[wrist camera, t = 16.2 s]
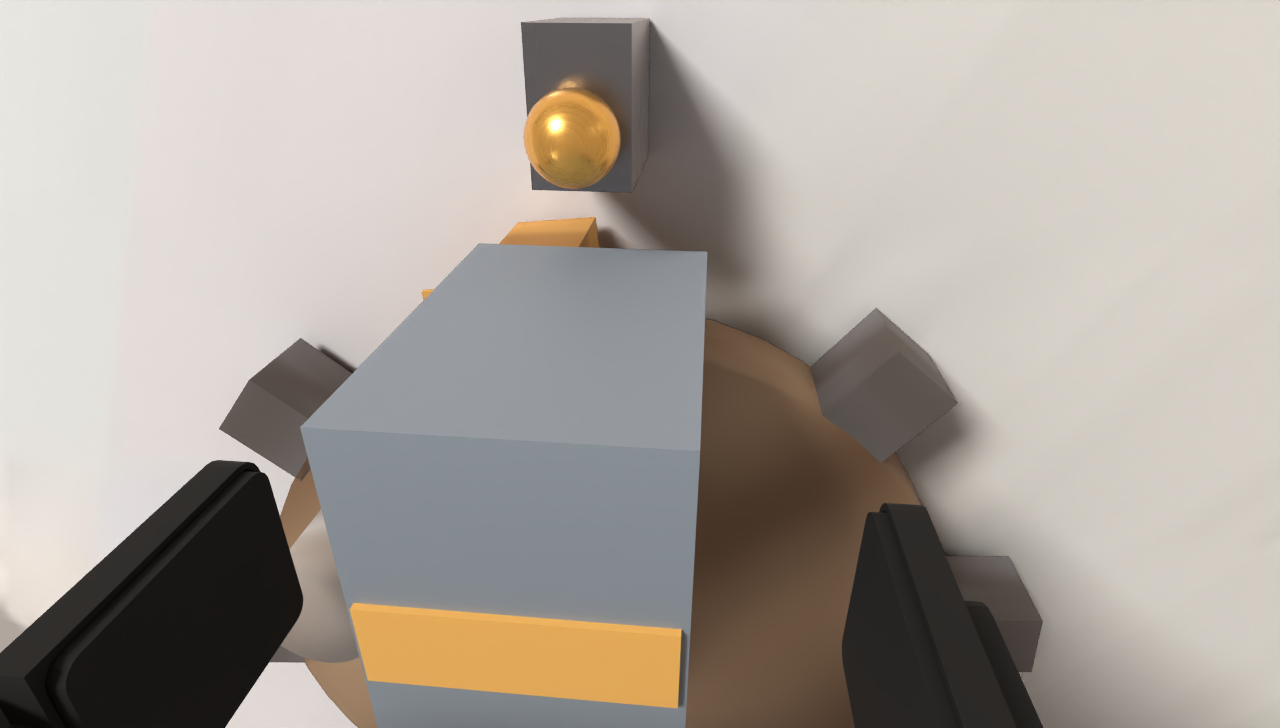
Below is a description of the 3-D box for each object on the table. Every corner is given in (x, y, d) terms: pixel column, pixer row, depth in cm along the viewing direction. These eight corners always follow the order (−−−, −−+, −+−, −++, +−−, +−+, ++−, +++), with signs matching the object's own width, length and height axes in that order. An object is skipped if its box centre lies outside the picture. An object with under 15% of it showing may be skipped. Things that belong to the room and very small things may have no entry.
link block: (693, 525, 15) (679, 827, 9) (507, 513, 15) (390, 798, 10) (707, 251, 12) (700, 457, 7) (479, 244, 12) (294, 432, 7)
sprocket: (1183, 580, 17) (1329, 760, 13) (658, 874, 25) (647, 1041, 21) (521, -7, 12) (428, -10, 8) (143, 583, 20) (4, 725, 16)
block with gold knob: (648, 155, 14) (621, 215, 10) (567, 153, 14) (511, 211, 10) (649, 18, 13) (620, 26, 9) (561, 18, 13) (495, 25, 9)
